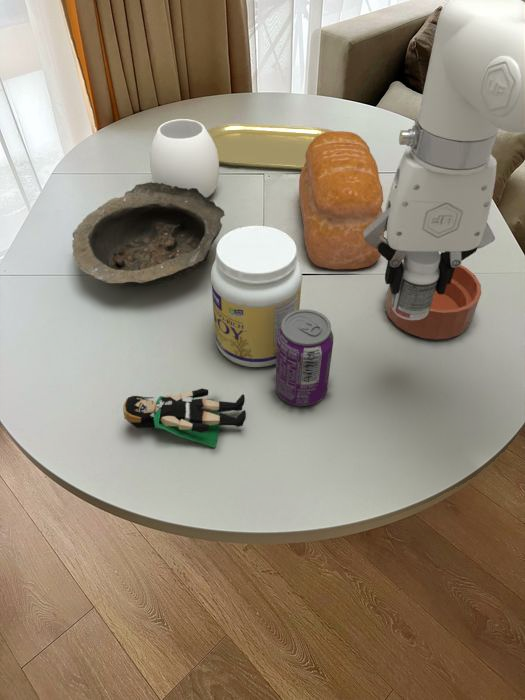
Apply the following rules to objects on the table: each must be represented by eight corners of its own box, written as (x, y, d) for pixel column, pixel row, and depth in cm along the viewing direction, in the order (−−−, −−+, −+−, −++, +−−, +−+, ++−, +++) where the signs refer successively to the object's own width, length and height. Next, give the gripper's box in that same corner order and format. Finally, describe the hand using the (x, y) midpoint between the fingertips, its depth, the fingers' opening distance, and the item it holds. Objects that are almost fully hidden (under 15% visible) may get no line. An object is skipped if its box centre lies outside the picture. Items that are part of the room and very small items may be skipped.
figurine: (247, 430, 68) (120, 423, 65) (239, 456, 72) (119, 452, 69) (243, 382, 74) (126, 374, 71) (236, 409, 78) (125, 402, 75)
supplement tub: (198, 341, 84) (188, 248, 72) (256, 302, 90) (255, 210, 78) (257, 385, 78) (257, 291, 66) (314, 340, 84) (323, 247, 72)
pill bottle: (436, 316, 70) (453, 261, 64) (403, 325, 69) (417, 271, 63) (415, 293, 73) (429, 239, 67) (383, 301, 72) (395, 247, 66)
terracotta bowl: (480, 302, 90) (491, 272, 86) (456, 353, 82) (467, 324, 78) (401, 276, 95) (408, 247, 90) (372, 322, 87) (377, 293, 83)
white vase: (144, 207, 109) (133, 140, 100) (168, 174, 118) (160, 110, 109) (209, 216, 107) (204, 149, 98) (228, 182, 116) (225, 117, 107)
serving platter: (205, 128, 134) (204, 121, 133) (353, 136, 131) (353, 129, 130) (189, 166, 121) (188, 159, 120) (353, 176, 118) (353, 169, 117)
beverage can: (335, 383, 78) (345, 319, 70) (311, 417, 74) (318, 354, 65) (291, 362, 81) (295, 299, 72) (265, 395, 77) (266, 332, 68)
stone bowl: (242, 232, 103) (240, 189, 96) (195, 330, 88) (189, 287, 81) (118, 210, 107) (107, 167, 100) (53, 300, 92) (35, 257, 85)
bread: (305, 273, 95) (311, 192, 84) (295, 192, 114) (299, 117, 103) (384, 271, 96) (401, 191, 85) (362, 191, 114) (372, 117, 103)
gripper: (371, 161, 52) (348, 307, 65) (553, 161, 52) (494, 307, 66) (361, 125, 58) (342, 267, 71) (526, 126, 58) (477, 268, 71)
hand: (415, 285), depth 68 cm, fingers closed on pill bottle, 4 cm apart
